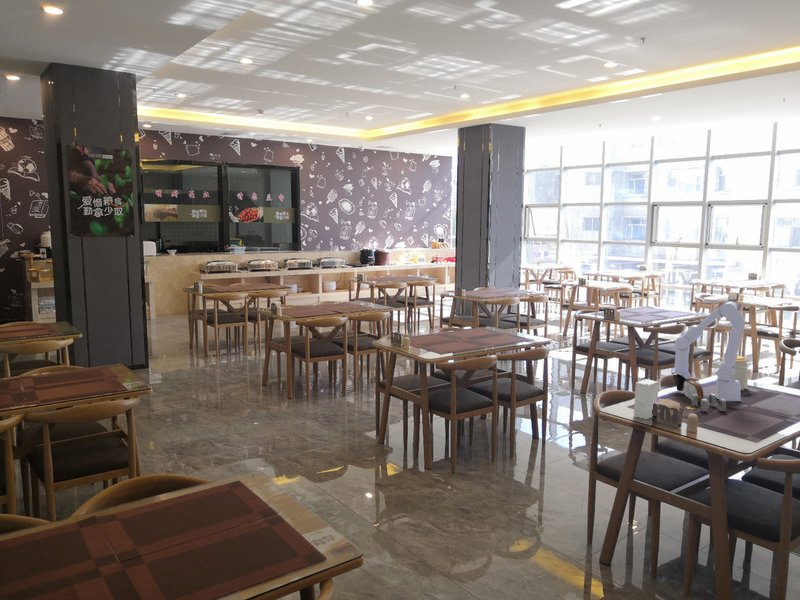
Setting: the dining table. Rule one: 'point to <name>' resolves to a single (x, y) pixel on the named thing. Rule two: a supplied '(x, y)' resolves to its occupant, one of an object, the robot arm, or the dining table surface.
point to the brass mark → (691, 408)
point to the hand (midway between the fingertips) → (679, 390)
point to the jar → (740, 370)
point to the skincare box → (645, 398)
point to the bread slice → (693, 389)
